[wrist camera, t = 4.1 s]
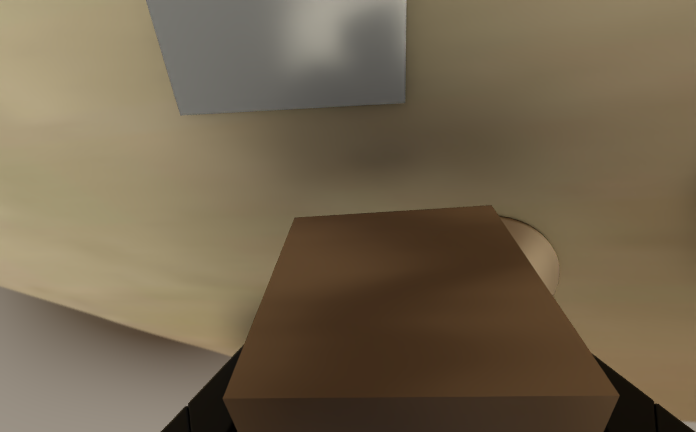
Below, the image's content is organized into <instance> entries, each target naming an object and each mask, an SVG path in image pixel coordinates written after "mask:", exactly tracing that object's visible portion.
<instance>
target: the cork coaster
mask: <svg viewBox="0 0 696 432" xmlns="http://www.w3.org/2000/svg"><path fill="white" fill-rule="evenodd" d="M500 219H501V220H502V222H503V223H504V225H505V226H506V228H507V229H508V230H509V232H510V233H511V235H512V236H513V238H514V239H515V241H516V242H517V244H518V245H519V247H520V248H521V250H522V251H523V253H524V254H525V256H526V257H527V259H528V260H529V262H530V263H531V265H532V266H533V268H534V269H535V271H536V272H537V273H538V275H539V276H540V278H541V279H542V281H543V282H544V284H545V285H546V287H547V288H548V290H549V291H550V293H551V294H552V296H553V295H554V293H555V291H556V288H557V286H558V282H559V277H560V267H559V260H558V258H557V255H556V252H555V251H554V249H553V247H552V246H551V244H550V243H549V242H548V241H547V240H546V238H545V237H544V236H543V235H542V234H541V233H539V232H538V231H537V230H536V229H534V228H533V227H531V226H529V225H527V224H525V223H523V222H520V221H518V220H514V219H510V218H506V217H500Z"/></svg>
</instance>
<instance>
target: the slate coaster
mask: <svg viewBox="0 0 696 432" xmlns="http://www.w3.org/2000/svg"><path fill="white" fill-rule="evenodd" d="M146 2H147V5H148V9H149V12H150V15H151V19H152V22H153V25H154V29H155V32H156V35H157V39H158V42H159V45H160V49H161V52H162V55H163V59H164V62H165V66H166V69H167V72H168V76H169V79H170V82H171V86H172V89H173V92H174V96H175V99H176V102H177V106H178V109H179V112H180V115H197V114H215V113H233V112H251V111H269V110H287V109H305V108H323V107H341V106H359V105H378V104H396V103H405V80H406V0H146Z"/></svg>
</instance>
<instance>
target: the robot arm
mask: <svg viewBox="0 0 696 432" xmlns="http://www.w3.org/2000/svg"><path fill="white" fill-rule="evenodd" d="M243 346H244V345H243ZM243 346H242V347H241V348H240V349H239V350H238V351H237V352H236V353H235V354H234V355H233V357H232V358H231V359H230V360H229V361H228V362H227V363H226V364H225V365H224V366H223V367H222V368H221V369H220V370H219V371H218V373H216V375H215V376H214V377H213V378H212V379H211V380H210V381H209V382H208V383H207V384H206V385H205V386H204V387H203V389H201V390H200V392H198V393H197V395H196V396H195V397H194V398H193V399H192V400H191V401H190V402H189V403H188V406H186V407H184V408H183V409H182V410H181V411H180V412H179V413H178V414H177V415H176V417H175V418H174V419H173V420H172V421H171V422H170V423H169V424H168V425H167V426H166V427H165V428H164V429H163V430H162V431H161V432H237V429H236V427H235V425H234V423H233V420H232V418H231V416H230V414H229V412H228V409H227V407H226V405H225V403H224V401H223V396H224V394H225V391H226V389H227V386H228V384H229V381H230V379H231V376H232V374H233V371H234V369H235V366H236V364H237V361H238V359H239V356H240V354H241V351H242V349H243ZM591 354H592V353H591ZM592 355H593V354H592ZM593 357H594V358H595V360H596V361H597V363H598V364H599V365H600V367H601V368H602V370H603V371H604V373H605V374H606V376H607V377H608V379H609V380H610V382H611V383H612V385H613V386H614V388H615V389H616V391H617V392H618V394H619V395H620V396H619V398H618V401H617V403H616V405H615V407H614V409H613V412H612V414H611V416H610V418H609V421H608V423H607V425H606V427H605V430H604V432H695V431H693V430H692V429H691V428H689V427H688V426H687V425H685V424H684V423H683V422H681V421H680V420H679V419H677V418H676V417H675V416H673V415H672V414H671V413H669V412H668V411H667V410H666V409H664V408H663V407H662V406H660V405H659V404H654V401H653V400H652V399H651V398H650V397H648V396H647V395H646V394H644V393H643V392H642V391H640V390H639V389H638V388H636V387H635V386H634V385H633V384H631V383H630V382H629V381H627V380H626V379H625V378H623V377H622V376H621V375H619V374H618V373H617V372H615V371H614V370H613V369H612V368H610V367H609V366H608V365H606V364H605V363H604V362H602V361H601V360H600V359H598V358H597V357H596V356H594V355H593Z"/></svg>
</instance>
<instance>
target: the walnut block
mask: <svg viewBox="0 0 696 432" xmlns="http://www.w3.org/2000/svg"><path fill="white" fill-rule="evenodd" d="M619 396H620V395H619V394H618V392H617V391H616V389H615V388H614V386H613V385H612V383H611V382H610V380H609V379H608V377H607V376H606V374H605V373H604V371H603V370H602V368H601V367H600V365H599V364H598V363H597V361H596V360H595V358H594V357H593V355H592V354H591V352H590V351H589V349H588V348H587V346H586V345H585V343H584V342H583V340H582V339H581V337H580V336H579V334H578V333H577V331H576V330H575V328H574V327H573V325H572V324H571V322H570V321H569V319H568V318H567V317H566V315H565V314H564V312H563V311H562V309H561V308H560V306H559V305H558V303H557V302H556V300H555V299H554V297H553V296H552V294H551V293H550V291H549V290H548V288H547V287H546V285H545V284H544V282H543V281H542V279H541V278H540V276H539V275H538V273H537V272H536V271H535V269H534V268H533V266H532V265H531V263H530V262H529V260H528V259H527V257H526V256H525V254H524V253H523V251H522V250H521V248H520V247H519V245H518V244H517V242H516V241H515V239H514V238H513V236H512V235H511V233H510V232H509V230H508V229H507V228H506V226H505V225H504V223H503V222H502V220H501V219H500V217H499V216H498V214H497V213H496V211H495V210H494V208H493V207H492V205H489V206H473V207H457V208H441V209H425V210H409V211H393V212H377V213H361V214H345V215H329V216H313V217H297V218H294V221H293V223H292V226H291V228H290V231H289V233H288V236H287V238H286V241H285V243H284V246H283V248H282V251H281V253H280V256H279V258H278V261H277V263H276V266H275V268H274V271H273V274H272V276H271V279H270V281H269V284H268V286H267V289H266V291H265V294H264V296H263V299H262V301H261V304H260V306H259V309H258V311H257V314H256V316H255V319H254V321H253V324H252V326H251V329H250V331H249V334H248V336H247V339H246V341H245V344H244V346H243V349H242V351H241V354H240V356H239V359H238V361H237V364H236V366H235V369H234V371H233V374H232V376H231V379H230V381H229V384H228V386H227V389H226V391H225V394H224V396H223V401H224V403H225V405H226V407H227V409H228V412H229V414H230V416H231V418H232V420H233V423H234V425H235V427H236V429H237V432H604V430H605V427H606V425H607V423H608V421H609V418H610V416H611V414H612V412H613V409H614V407H615V405H616V403H617V401H618V398H619Z"/></svg>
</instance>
